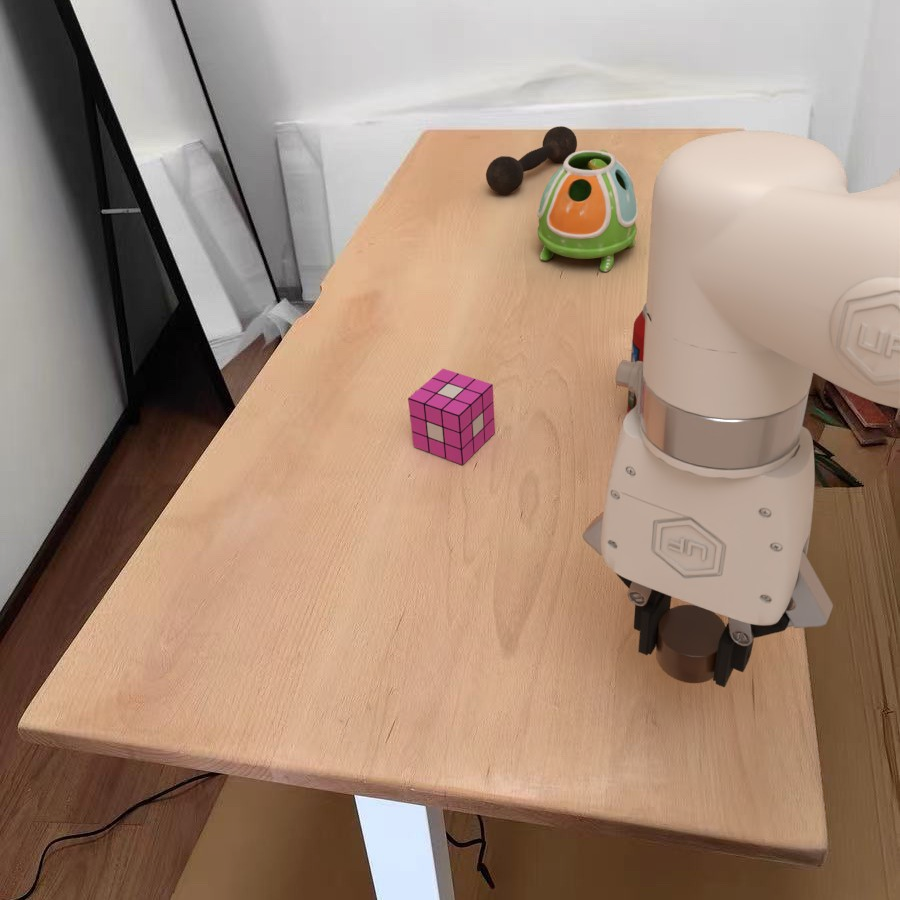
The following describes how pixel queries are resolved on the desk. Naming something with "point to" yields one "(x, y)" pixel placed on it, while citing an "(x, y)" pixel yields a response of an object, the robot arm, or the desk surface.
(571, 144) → the dumbbell
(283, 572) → the desk surface
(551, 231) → the turtle holder
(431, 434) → the puzzle toy
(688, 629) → the dark brown cylinder
